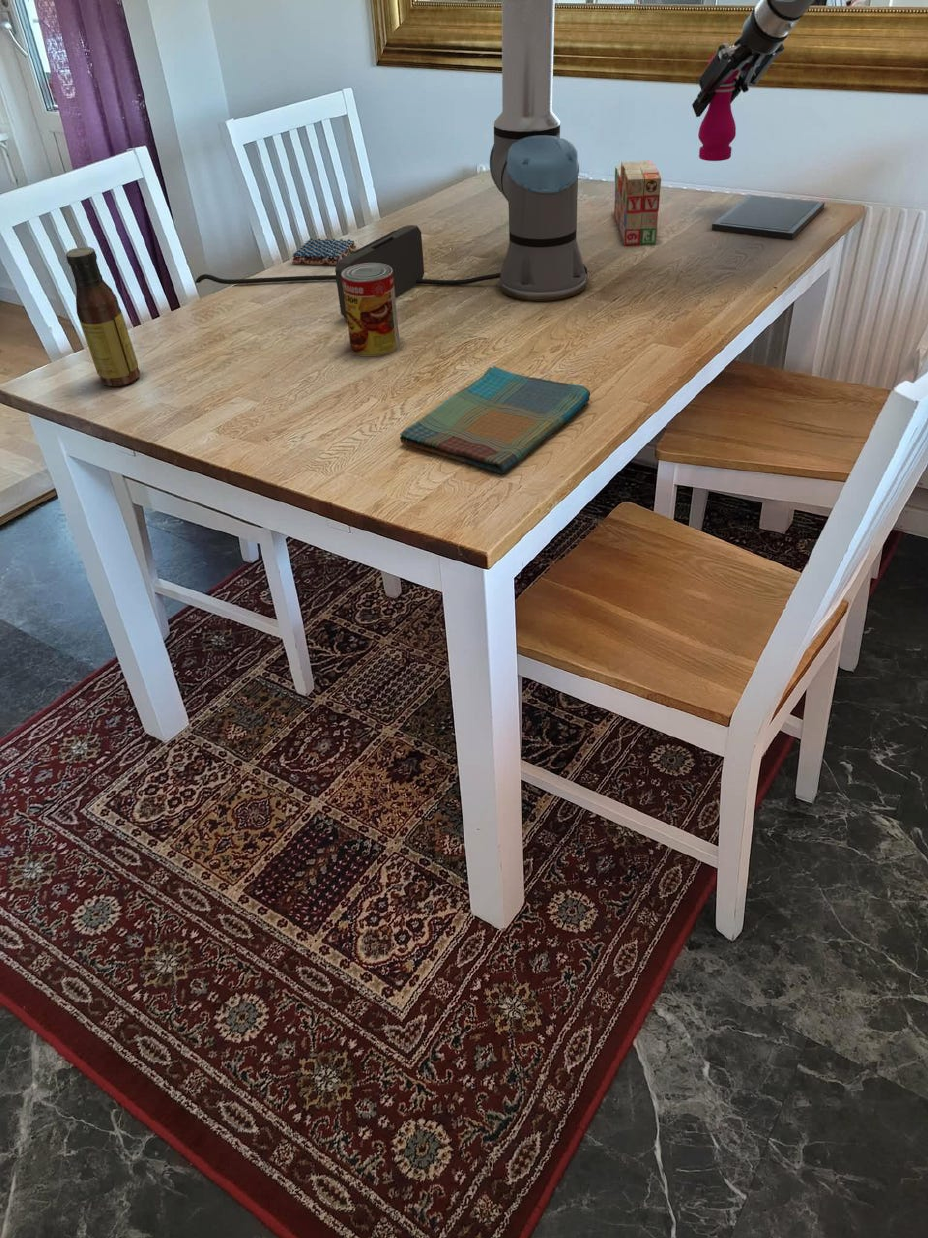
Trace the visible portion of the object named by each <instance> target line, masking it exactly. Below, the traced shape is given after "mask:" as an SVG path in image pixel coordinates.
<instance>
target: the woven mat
mask: <svg viewBox="0 0 928 1238" xmlns="http://www.w3.org/2000/svg"><path fill="white" fill-rule="evenodd" d="M356 248H357V245H356V244H355V241H354V240H351V238H349V239H347V240H343V238H341V239H339V240H336V238H333V239H332V240H330V239H328V238H325V239H321V238H317V239H313V238H309V240H306V241H305V242H304V243H302V246H300V247H298V248H297V250H294V253H292V257H291V258H292V264H293V265H299V264H302V263H303V264H306V265H311V266H312V265H313V266H315V265H316V266H321V265H323V264H328V265H330V266H335V267H336V265H337V262H339V261H340V260H341V259H343V258H344V257H346V256H348V255H350V254H352V252H354V251H356Z"/></svg>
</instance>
